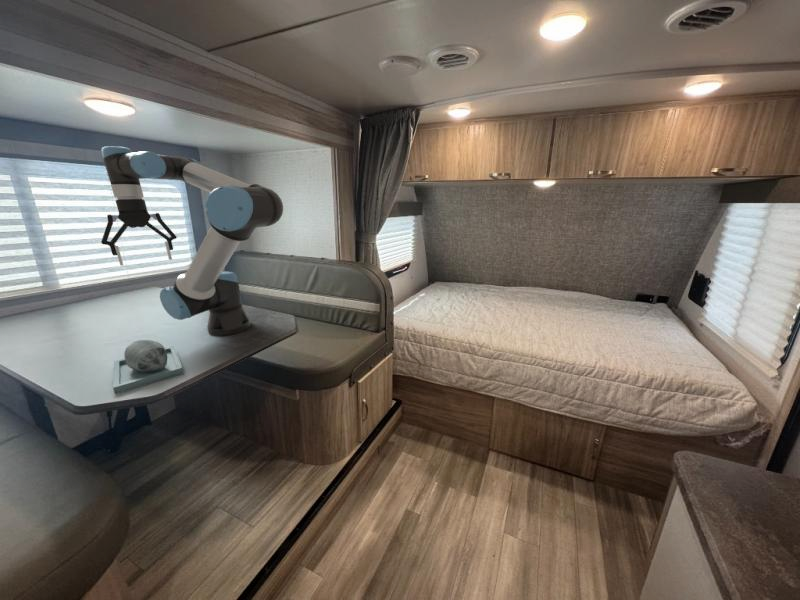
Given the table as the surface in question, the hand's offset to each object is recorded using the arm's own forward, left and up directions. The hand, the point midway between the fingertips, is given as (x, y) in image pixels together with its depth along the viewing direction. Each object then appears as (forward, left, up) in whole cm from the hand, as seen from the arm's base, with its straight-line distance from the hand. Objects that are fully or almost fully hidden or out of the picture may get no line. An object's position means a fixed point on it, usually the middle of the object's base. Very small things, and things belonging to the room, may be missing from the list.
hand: (147, 262), depth 110 cm
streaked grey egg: (+7, +27, -28) cm, 39 cm away
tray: (+7, +27, -29) cm, 40 cm away
